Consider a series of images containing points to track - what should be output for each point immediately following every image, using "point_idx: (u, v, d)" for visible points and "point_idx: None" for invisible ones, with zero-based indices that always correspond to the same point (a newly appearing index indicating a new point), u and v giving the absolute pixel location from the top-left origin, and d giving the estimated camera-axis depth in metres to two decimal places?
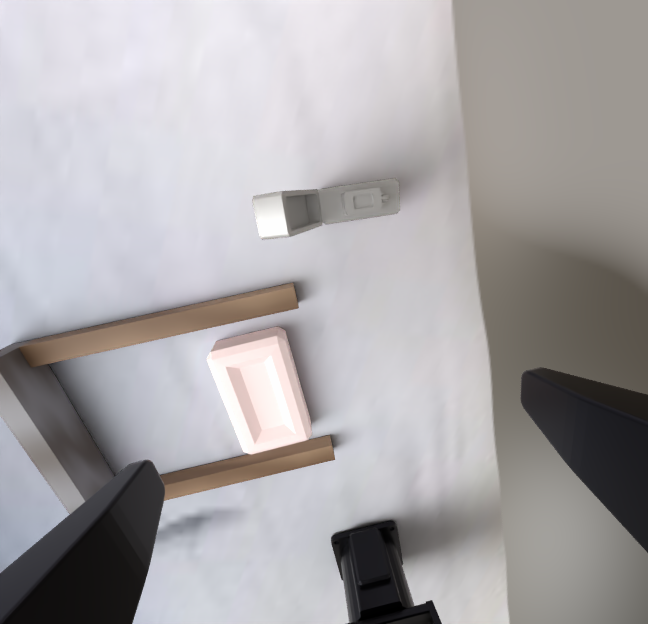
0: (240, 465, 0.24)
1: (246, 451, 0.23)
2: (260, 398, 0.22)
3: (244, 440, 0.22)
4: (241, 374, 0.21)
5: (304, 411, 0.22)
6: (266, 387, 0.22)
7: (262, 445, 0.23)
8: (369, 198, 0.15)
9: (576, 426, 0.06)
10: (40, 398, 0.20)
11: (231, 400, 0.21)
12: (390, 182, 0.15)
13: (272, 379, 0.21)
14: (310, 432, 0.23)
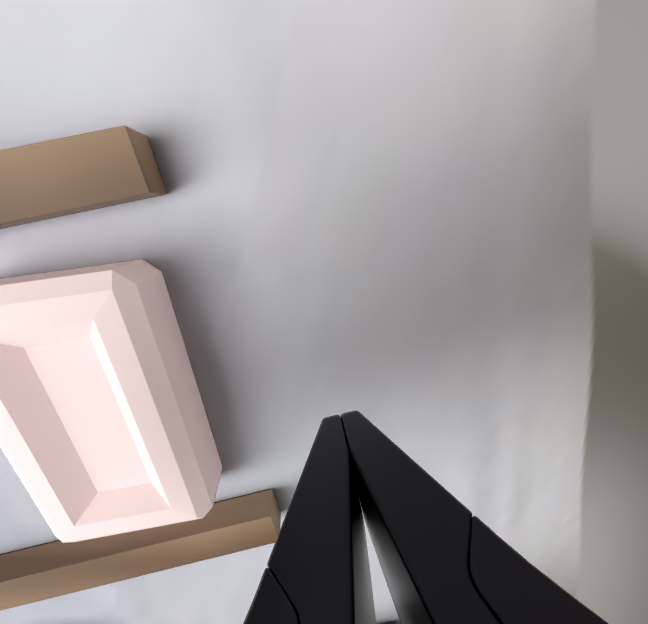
0: (81, 557, 0.12)
1: (59, 538, 0.10)
2: (87, 424, 0.09)
3: (48, 515, 0.10)
4: (29, 363, 0.09)
5: (193, 460, 0.10)
6: (101, 400, 0.09)
7: (93, 528, 0.10)
8: None
9: (356, 479, 0.06)
10: None
11: None
12: None
13: (110, 382, 0.09)
14: (208, 504, 0.11)
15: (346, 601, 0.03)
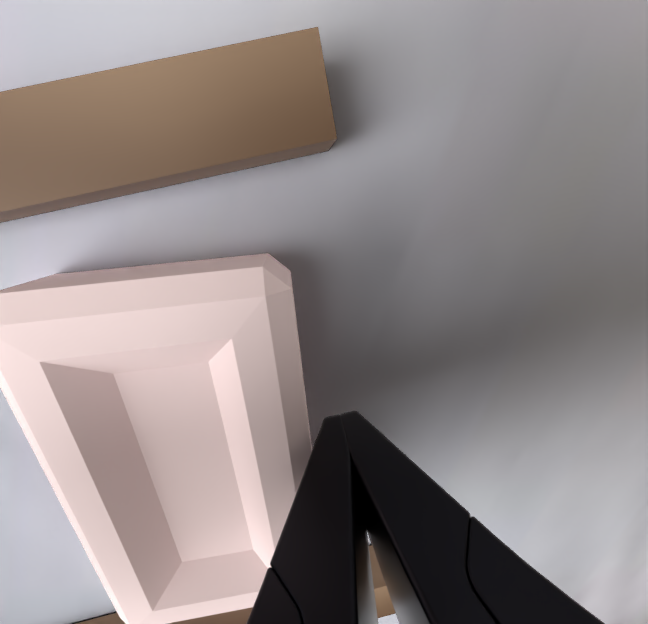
0: None
1: None
2: (184, 476, 0.07)
3: (119, 597, 0.07)
4: (118, 395, 0.06)
5: None
6: (208, 446, 0.07)
7: (176, 612, 0.07)
8: None
9: (355, 480, 0.06)
10: None
11: (70, 484, 0.06)
12: None
13: (229, 423, 0.06)
14: None
15: (349, 601, 0.03)
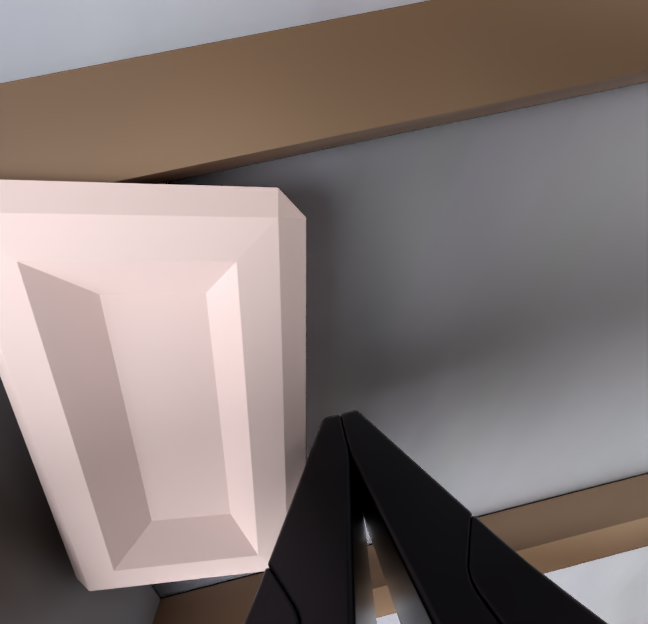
0: None
1: (84, 584, 0.07)
2: (165, 423, 0.06)
3: (79, 552, 0.07)
4: (102, 320, 0.05)
5: None
6: (195, 390, 0.06)
7: (140, 574, 0.07)
8: None
9: (356, 480, 0.06)
10: None
11: (38, 414, 0.05)
12: None
13: (221, 365, 0.06)
14: None
15: (347, 601, 0.03)
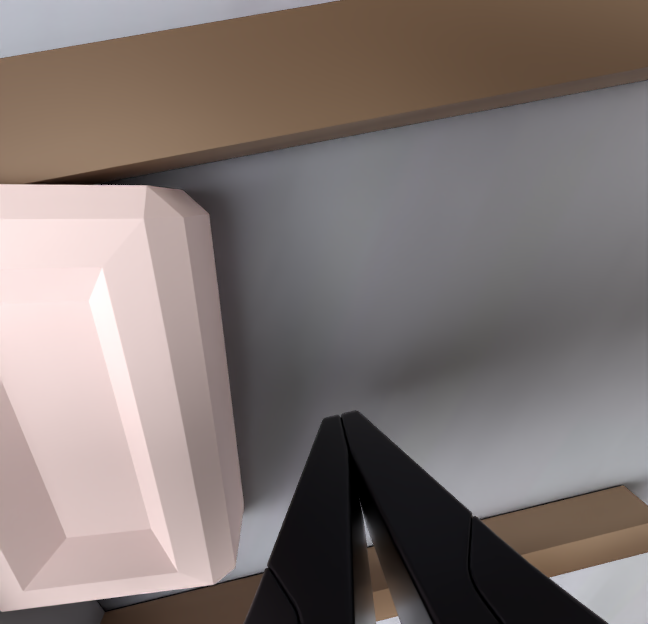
0: None
1: None
2: (65, 437, 0.06)
3: None
4: None
5: (221, 503, 0.07)
6: (92, 403, 0.06)
7: (53, 594, 0.07)
8: None
9: (356, 479, 0.06)
10: None
11: None
12: None
13: (113, 377, 0.05)
14: (230, 564, 0.07)
15: (346, 602, 0.03)
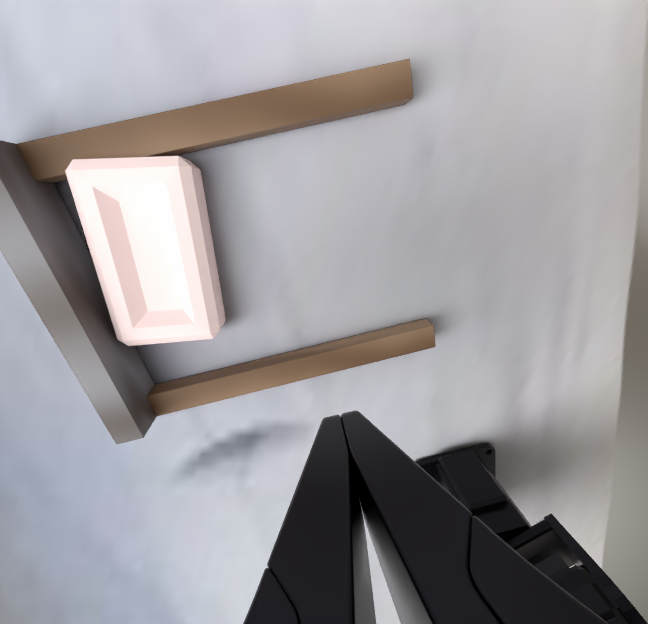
0: (314, 353, 0.18)
1: (120, 338, 0.16)
2: (148, 259, 0.15)
3: (117, 319, 0.16)
4: (120, 212, 0.14)
5: (211, 292, 0.16)
6: (159, 244, 0.15)
7: (144, 332, 0.16)
8: None
9: (356, 479, 0.06)
10: (49, 227, 0.14)
11: (99, 248, 0.14)
12: None
13: (167, 229, 0.15)
14: (217, 327, 0.17)
15: (346, 601, 0.03)
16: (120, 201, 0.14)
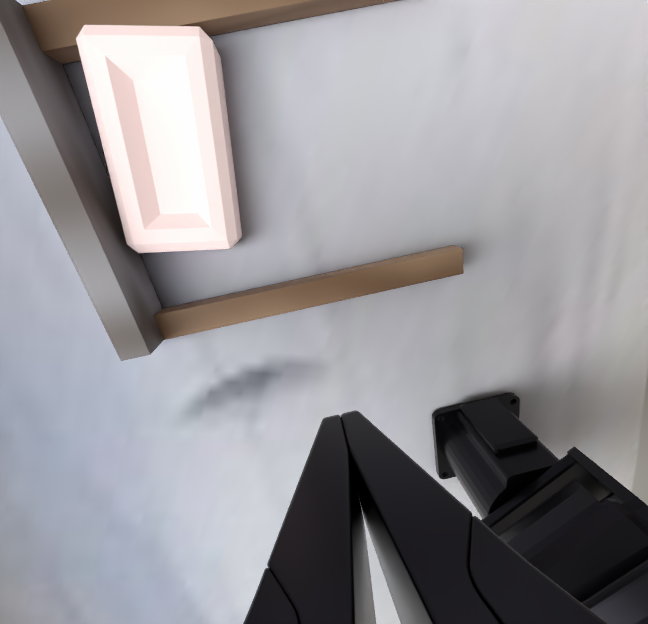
0: (334, 275, 0.17)
1: (130, 242, 0.15)
2: (163, 152, 0.14)
3: (128, 218, 0.14)
4: (134, 93, 0.13)
5: (229, 192, 0.15)
6: (175, 134, 0.14)
7: (156, 234, 0.15)
8: None
9: (356, 479, 0.06)
10: (56, 103, 0.13)
11: (111, 131, 0.13)
12: None
13: (184, 115, 0.14)
14: (235, 234, 0.15)
15: (346, 601, 0.03)
16: (134, 79, 0.13)
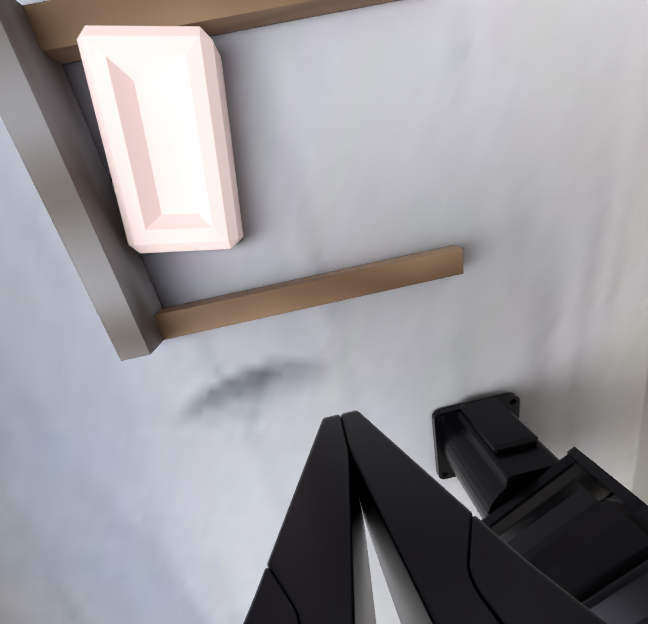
0: (334, 275, 0.17)
1: (132, 243, 0.15)
2: (164, 152, 0.14)
3: (129, 219, 0.14)
4: (135, 93, 0.13)
5: (230, 192, 0.15)
6: (176, 134, 0.14)
7: (157, 235, 0.15)
8: None
9: (356, 479, 0.06)
10: (56, 103, 0.13)
11: (112, 132, 0.13)
12: None
13: (185, 115, 0.14)
14: (236, 234, 0.15)
15: (346, 601, 0.03)
16: (135, 80, 0.13)
